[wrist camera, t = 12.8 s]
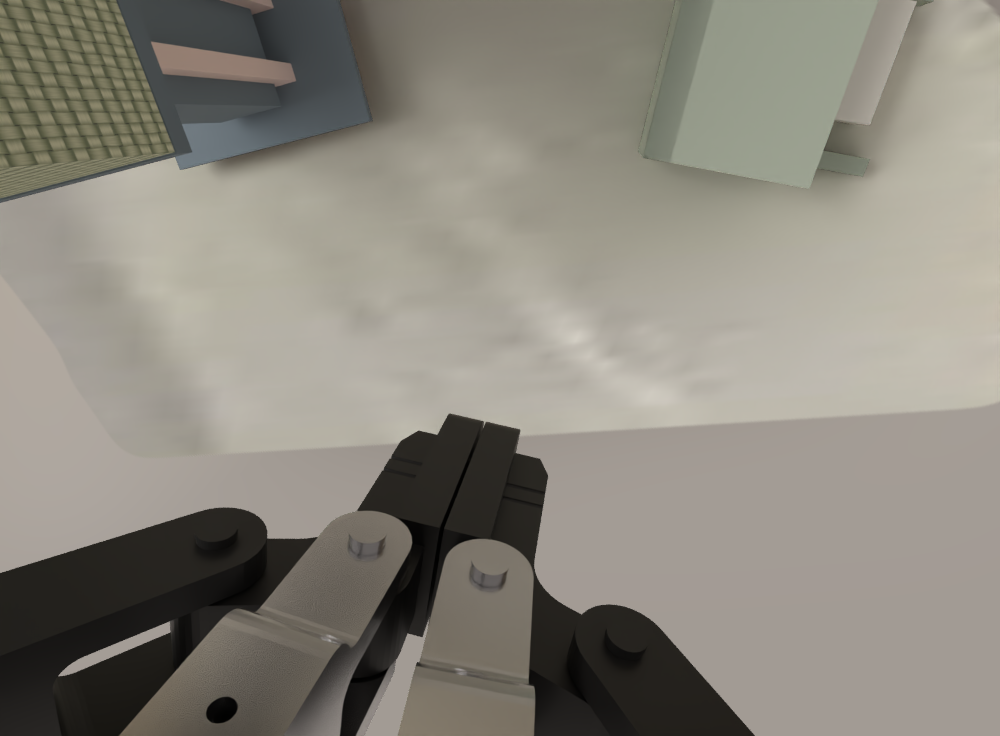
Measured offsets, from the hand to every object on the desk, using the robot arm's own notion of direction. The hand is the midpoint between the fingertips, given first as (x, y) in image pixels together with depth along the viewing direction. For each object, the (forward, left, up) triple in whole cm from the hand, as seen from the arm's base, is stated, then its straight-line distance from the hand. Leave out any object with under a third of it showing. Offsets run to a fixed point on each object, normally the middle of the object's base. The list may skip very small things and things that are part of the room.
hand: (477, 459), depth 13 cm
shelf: (-11, +10, -31) cm, 34 cm away
